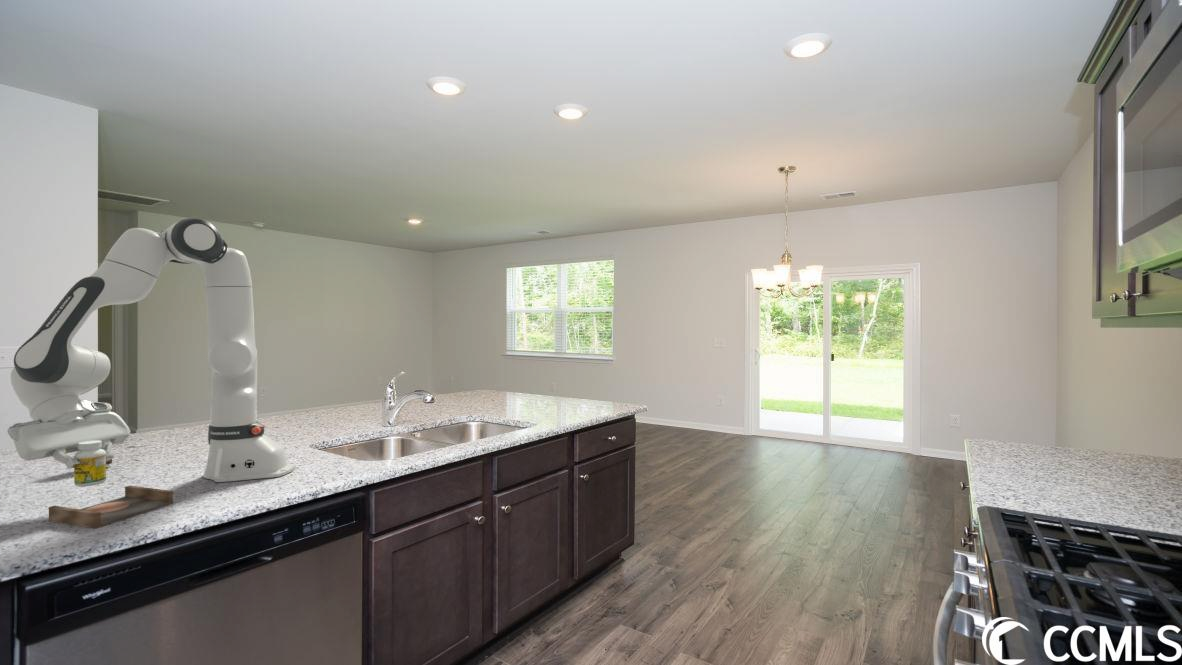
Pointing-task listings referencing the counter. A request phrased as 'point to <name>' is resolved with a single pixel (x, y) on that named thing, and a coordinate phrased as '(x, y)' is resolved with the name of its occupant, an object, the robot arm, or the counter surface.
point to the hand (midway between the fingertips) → (92, 462)
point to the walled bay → (114, 508)
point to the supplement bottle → (90, 464)
